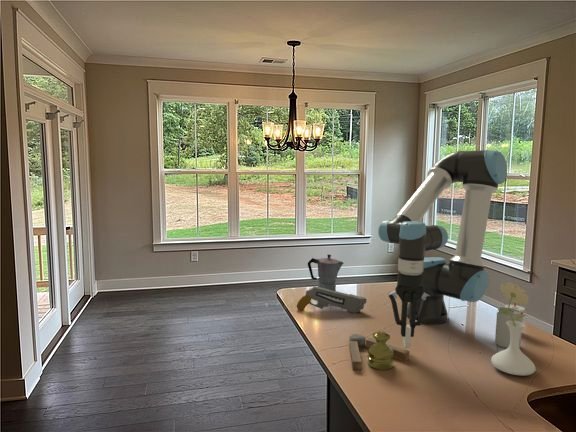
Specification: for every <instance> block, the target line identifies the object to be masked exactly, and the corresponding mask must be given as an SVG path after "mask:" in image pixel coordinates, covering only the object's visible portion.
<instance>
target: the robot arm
mask: <svg viewBox="0 0 576 432" xmlns="http://www.w3.org/2000/svg"><path fill="white" fill-rule="evenodd" d="M426 175H427V177H426V179H424V181H423V182H422V183H421V184H420V186H419V187H418V188H417V189H416V191H414V192H413V194H412V195H411V197H410V198H409V199H408V200H407V202H406V203H405V204H404V205H403V207H402V208H400V210H399V211H398V212H397V214H396V215H395V216H394V218H393V219H392V220H391V219H388V220H383V221H381V222H380V224H379V225H378V237H379V239H380V240H381V241H383V242H386V243H390V244H396V245H399V247H398V249H399V250H398V260H397V265H398V266H397V270H398V272H397V282H396V287H395V290H393V291H391V292H388V293H387V296H388V298H389V299H390V302H391V306H392V312H393V316H394V321H395V323H396V325H397V326H400V336H401V337H403V340H402V341H403V346H404V348H405V349H411V338H414V337H415V328H416V327H417V326H418V327H420V326H421V325H422V324H423V323H424V324H429V325H431V324H433V325H436V324H443V323H445V322H447V321H448V311H447V307H446V304H445V303H446V302H445V299H444V297H445V296H446V297H449V298H453V299H456V300H460V301H463V302H469V303H477V302H478V301H480V300H481V299H482V298H483V297H484V296H485V294H486V292H487V289H488V288H489V282H490V278H489V277H490V275H489V273H488V272H487V271H486V270H485V264H484V263H483V262H482V253H483V249H484V243H485V236H486V231H487V230H486V229H487V224H488V219H489V212H490V207H491V201H492V195H493V194H494V193H495V192H496V191H497V190H498V188H499V185H501V184H504V183H505V182H506V179H507V176H508V164H507V160H506V157H505V156H504V154H503V153H502V151H499V150H489V149H485V150H484V149H483V150H457V151H454V152H450V153H449V154H447V155H445V156H444V157H442V158H441V159H439V160H438V161H437V162H436V163H434V165H432V167H431V168H429V170H428V171H427V174H426ZM455 183H462V185H461V186H462V187H463V189H464V190H465V195H464V199H463V206H462V211H461V212H462V213H461V218H460V223H459V230H458V236H457V243H456V246H455V253H454V255H453V256H452V257H450V259H449V260H448V261H449V262H448V263H447V261H446V258H445V257H439V256H438V257H436V256H432V257H431V256H430V257H429V256H428V257H425V252H428V251H431V250H438V249H440V248H443V247H445V245H446V244H447V242H448V240H449V235H448V232H447V230H446V229H445V227H443V226H442V225H439V224H438V225H437V224H436V225H435V224H432V225H427V224H426V223H425V222H423V221H422V222H421V220H422V219H423V217H424V216H425V215H426V213H427V212H428V211H429V210H430V208H431V207H432V206H433V204H434V203H435V202H436V201H437V199H438V198H439V197H440V196H441V194H442V193H443V191H444V190H446V189H449V188H450V187H451V186H452V185H453V184H455ZM397 296H398V297H399V299H400V300H401V311H400V312H401V313H400V314H399V309H398V303H397V301H396V299H397ZM400 317H401V318H400ZM407 317H408V319H409V320H407ZM407 321H408V322H409V324H407Z"/></svg>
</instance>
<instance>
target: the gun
mask: <svg viewBox="0 0 576 432" xmlns="http://www.w3.org/2000/svg"><path fill="white" fill-rule="evenodd" d="M312 300H314V301H317V303H316V304H315V303H312ZM366 303H367V298H366V297H364V296H359V295H355V294H353V293H350V294H348V293H345V292H341V291H337V290H336V291H333V290H329V289H325V288H321V287H318V286H315V285H313V286H312V288H311V289H308V290H306V291H305V295H303V296H301V298H300V299H299V300H298V302H297V304H296V308H297V310H298V311H300V312H304V311H305V308H306V307H308V305H311V306H314V307H315V308H318V309H321V310H323V309H324V308H328V307H329V305H330V306H333V307H335V308H340V309H341V310H346V311H347V312H350V313H352V314H357V313H360V312H361V310H364V308H365V307H364V306H365V304H366Z"/></svg>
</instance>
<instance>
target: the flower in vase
mask: <svg viewBox="0 0 576 432" xmlns="http://www.w3.org/2000/svg"><path fill="white" fill-rule="evenodd" d="M499 290H500V292H502V295H503V296H504V297H505V298H506V299H507V300H508V301H509V303H508V305H509V306H508V310H506V309H505V306H504V307H503V306H500V307H499V308H498V309H497V312H499V311H500V312H502V313H504V314H505V315H508V314H510V316H511V313H510V310H509V307H510V304H512V303H513V304H514V303H516V305H518V306H521V305H522V306H523V305H528V303H529V300H530V299H529V295H527V291H526V290H524V288H522V287H520V286H519V284H516V283H515V284H514V283H513V282H509V281H507V282H503V283H502V284H500V288H499ZM525 316H526V314H523V315H518V316H516V317H514V318H512V316H511V319H512V321H507V322H506V324H507V325H508V327H509V330H510V345H509V347H508V348H507V349H505V348H504V349H503V350H501V351H498V352H497V353H494V354H493V355H492V356H491V359H490V362H491V364H492V365H493V367H495V368H496V369H497V370H499V371H501V372H504V373H506V374H510V375H512V376H513V375H514V376H531V375H533V374H534V373H535V372H536V368H537V367H536V366H535V364H534V362H533V361H532V360H531V359H530V358H529V357H528V356H527V355H525V354H524V353H523V352H522V351H521V349H520V347H519V338H520V334H521V332H522V331H523V330H524V329H525V328H526V327H527V325H526V324H525V323H524V322H518V321H514V320H513V319H519V318H522V317H525ZM522 333H523V332H522Z"/></svg>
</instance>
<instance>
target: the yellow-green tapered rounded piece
mask: <svg viewBox="0 0 576 432" xmlns="http://www.w3.org/2000/svg"><path fill="white" fill-rule="evenodd" d="M372 338H373V339H376V341H377V342H376V343H375V344H374V345H372V346H370V347H369V348H367V353H368V355H367V364H368V366H370V368H373V369H375V370H380V371H385V370H386V371H387V370H391V369H392V368H393V366H394V357H393V355H394V351H393V350H392V349H391V348H390V347H389V346H388V345H387V344H388V343H387V342H388V341H389V340H390V339H391V335H390V334H389V333H387V332H385V331H384V330H380V331H375V332H374V333H372ZM386 343H387V344H386Z"/></svg>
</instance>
